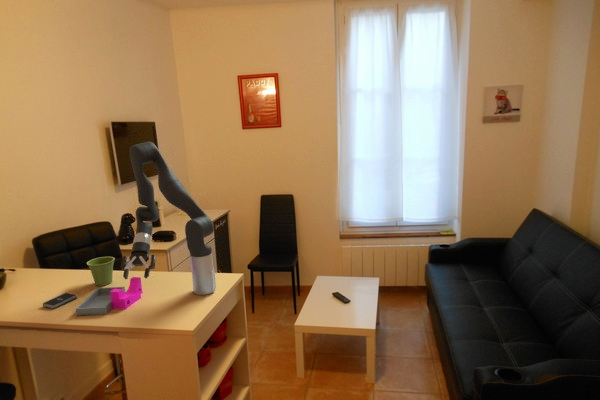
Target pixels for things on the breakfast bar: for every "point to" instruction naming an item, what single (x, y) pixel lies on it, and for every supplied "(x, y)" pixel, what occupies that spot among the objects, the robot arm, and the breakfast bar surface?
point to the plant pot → (102, 270)
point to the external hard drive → (59, 301)
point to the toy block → (127, 294)
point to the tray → (97, 302)
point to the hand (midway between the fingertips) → (135, 278)
